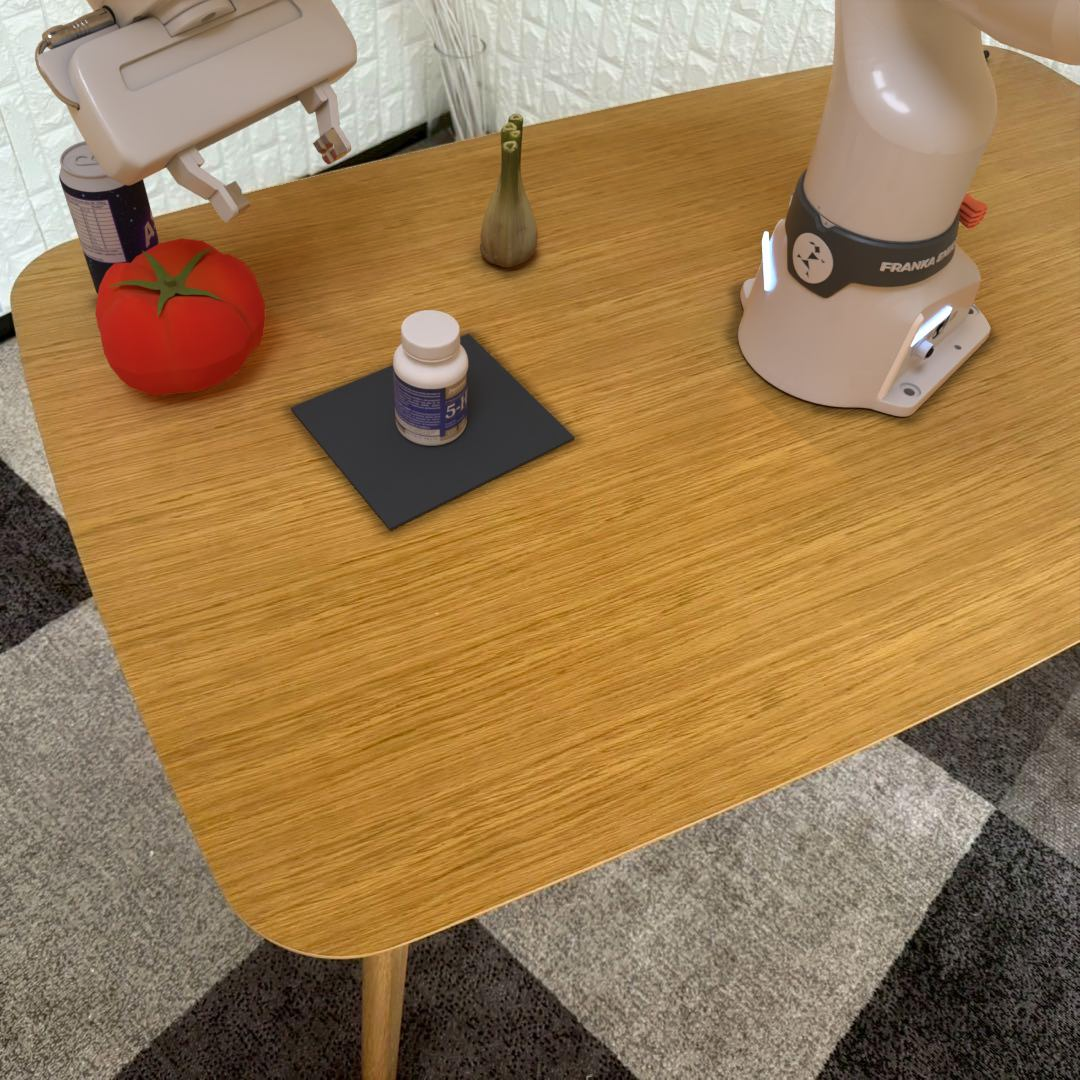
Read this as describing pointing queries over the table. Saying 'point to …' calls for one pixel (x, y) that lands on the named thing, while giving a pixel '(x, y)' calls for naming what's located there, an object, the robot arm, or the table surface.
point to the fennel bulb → (509, 206)
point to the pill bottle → (430, 379)
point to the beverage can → (105, 212)
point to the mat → (429, 471)
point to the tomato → (179, 317)
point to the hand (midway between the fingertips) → (291, 185)
